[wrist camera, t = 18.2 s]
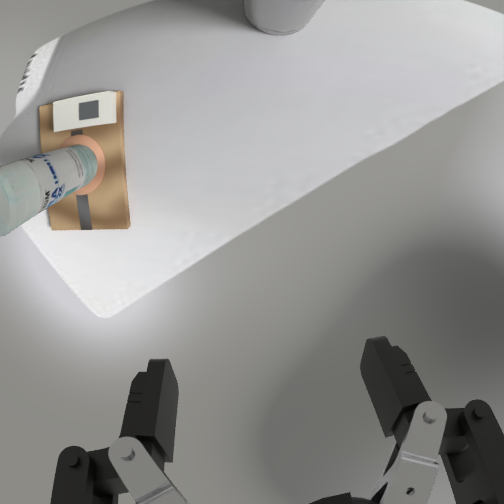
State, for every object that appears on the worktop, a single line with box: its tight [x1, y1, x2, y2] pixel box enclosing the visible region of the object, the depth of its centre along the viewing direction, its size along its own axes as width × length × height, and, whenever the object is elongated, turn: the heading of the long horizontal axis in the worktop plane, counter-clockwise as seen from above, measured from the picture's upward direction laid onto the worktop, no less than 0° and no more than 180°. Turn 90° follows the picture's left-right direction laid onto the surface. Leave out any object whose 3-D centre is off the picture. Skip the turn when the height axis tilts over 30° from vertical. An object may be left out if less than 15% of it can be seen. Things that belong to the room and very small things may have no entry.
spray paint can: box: [0, 145, 98, 236], centre depth 30 cm, size 6×6×20 cm
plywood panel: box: [39, 91, 131, 230], centre depth 40 cm, size 20×14×2 cm
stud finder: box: [53, 91, 116, 132], centre depth 35 cm, size 9×4×3 cm, turn 89°
